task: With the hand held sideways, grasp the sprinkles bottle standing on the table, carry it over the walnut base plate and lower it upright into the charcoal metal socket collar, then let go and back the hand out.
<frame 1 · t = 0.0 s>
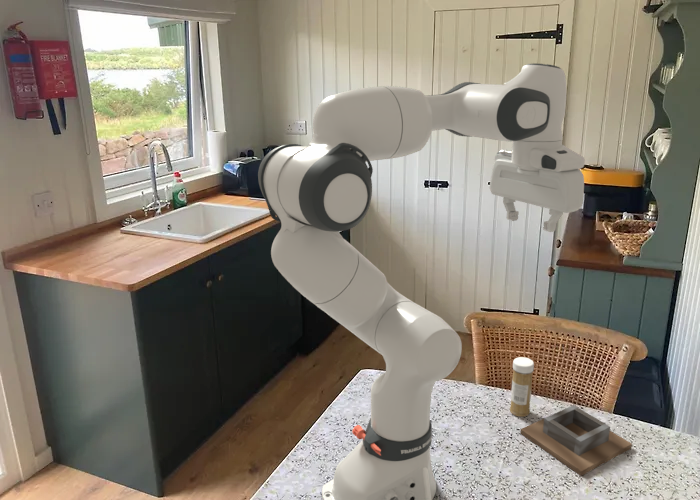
hand: (530, 225, 112), 48 cm above the table, tool pointing down, fingers open, 8 cm apart
socket base: (574, 440, 124), on the table
sprinkles bottle: (519, 412, 134), on the table
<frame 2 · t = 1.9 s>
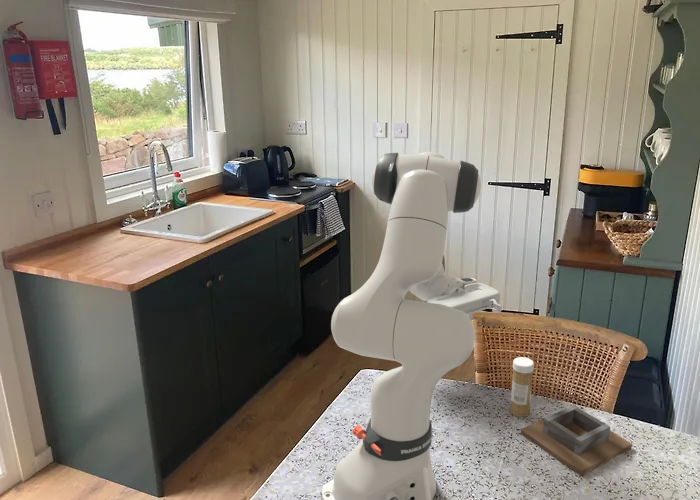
hand: (485, 314, 139), 20 cm above the table, tool horizontal, fingers open, 8 cm apart
nothing on the table moved.
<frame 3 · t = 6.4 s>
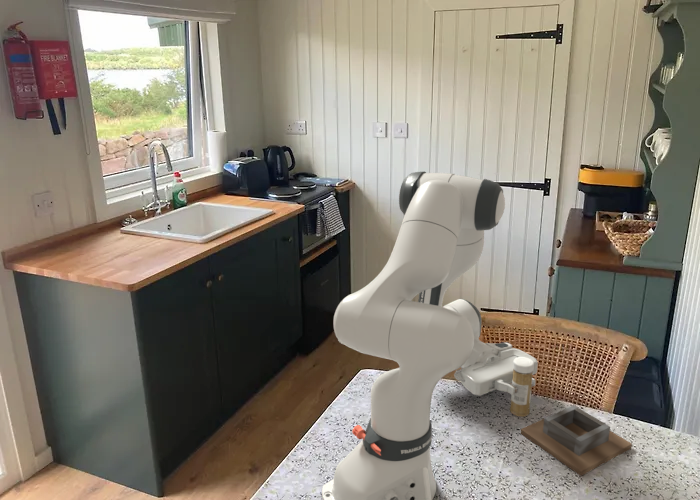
hand: (524, 387, 131), 7 cm above the table, tool horizontal, fingers closed on sprinkles bottle, 4 cm apart
sprinkles bottle: (519, 412, 134), on the table, touching gripper
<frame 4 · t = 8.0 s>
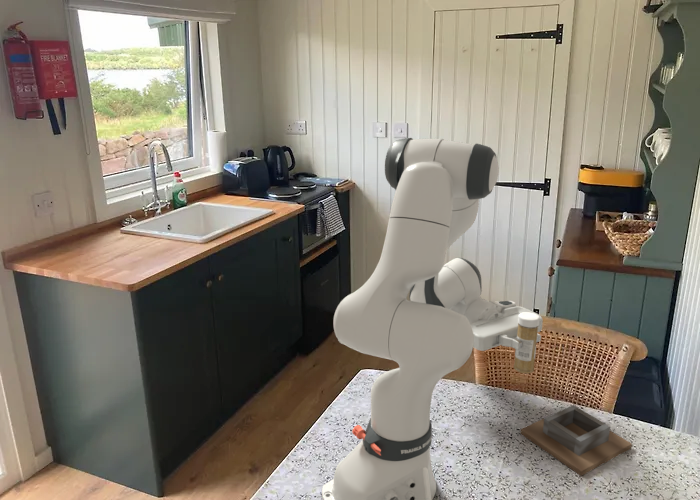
hand: (529, 342, 127), 19 cm above the table, tool horizontal, fingers closed on sprinkles bottle, 4 cm apart
sprinkles bottle: (523, 370, 130), point 11 cm above the table, touching gripper
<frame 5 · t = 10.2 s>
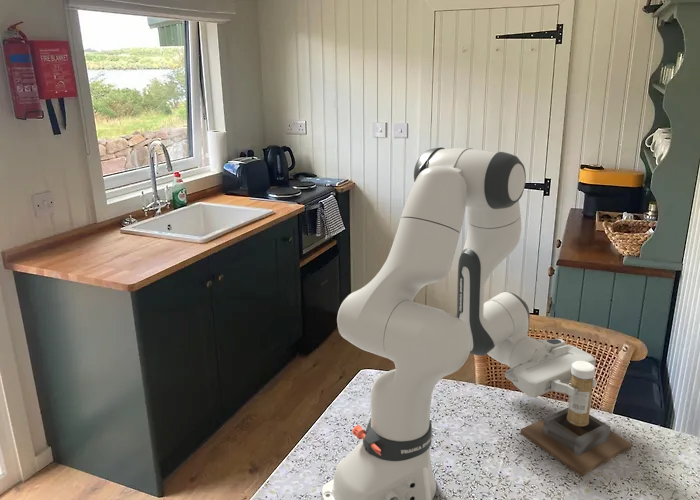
hand: (584, 388, 119), 13 cm above the table, tool horizontal, fingers closed on sprinkles bottle, 4 cm apart
sprinkles bottle: (577, 421, 122), point 5 cm above the table, touching gripper
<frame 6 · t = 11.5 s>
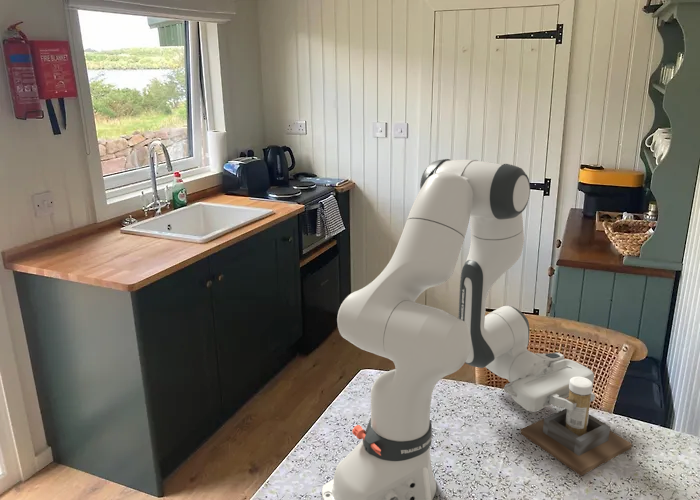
hand: (583, 402, 120), 10 cm above the table, tool horizontal, fingers closed on sprinkles bottle, 4 cm apart
sprinkles bottle: (574, 436, 124), point 1 cm above the table, touching gripper, socket base
when the fingers open (10 cm above the table, at t = 11.5 s): sprinkles bottle stays where it is, resting on socket base.
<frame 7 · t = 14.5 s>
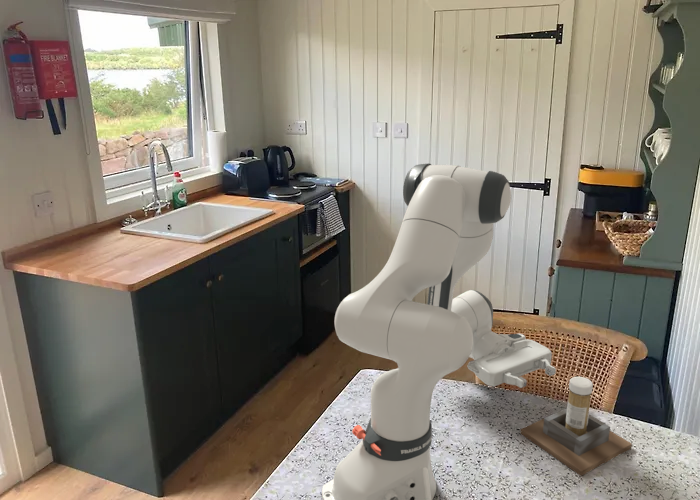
hand: (539, 378, 130), 10 cm above the table, tool horizontal, fingers open, 8 cm apart
sprinkles bottle: (574, 436, 124), point 1 cm above the table, touching socket base
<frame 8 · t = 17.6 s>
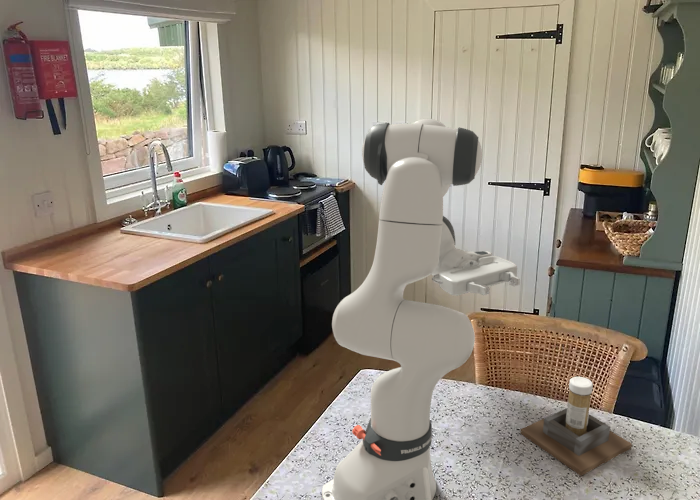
hand: (502, 287, 129), 30 cm above the table, tool horizontal, fingers open, 8 cm apart
nothing on the table moved.
at the end: sprinkles bottle 0.2 cm off-centre on the socket base, point 1.0 cm above the socket base's base; sprinkles bottle tilted 0°; the gripper is holding nothing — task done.
